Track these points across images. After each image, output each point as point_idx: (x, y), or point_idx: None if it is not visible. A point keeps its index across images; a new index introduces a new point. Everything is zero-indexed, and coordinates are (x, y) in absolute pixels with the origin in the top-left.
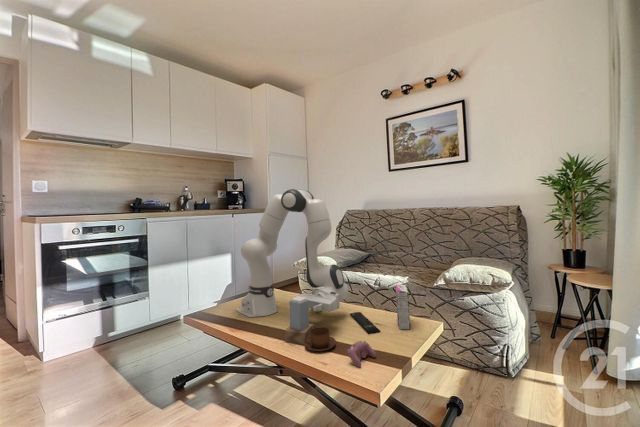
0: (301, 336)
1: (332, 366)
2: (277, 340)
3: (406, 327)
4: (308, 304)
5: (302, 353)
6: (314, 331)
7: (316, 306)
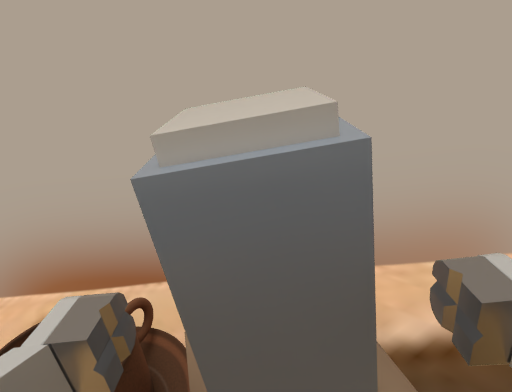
0: None
1: (11, 323)
2: (390, 331)
3: None
4: (155, 246)
5: (171, 320)
6: (122, 389)
7: (23, 351)
